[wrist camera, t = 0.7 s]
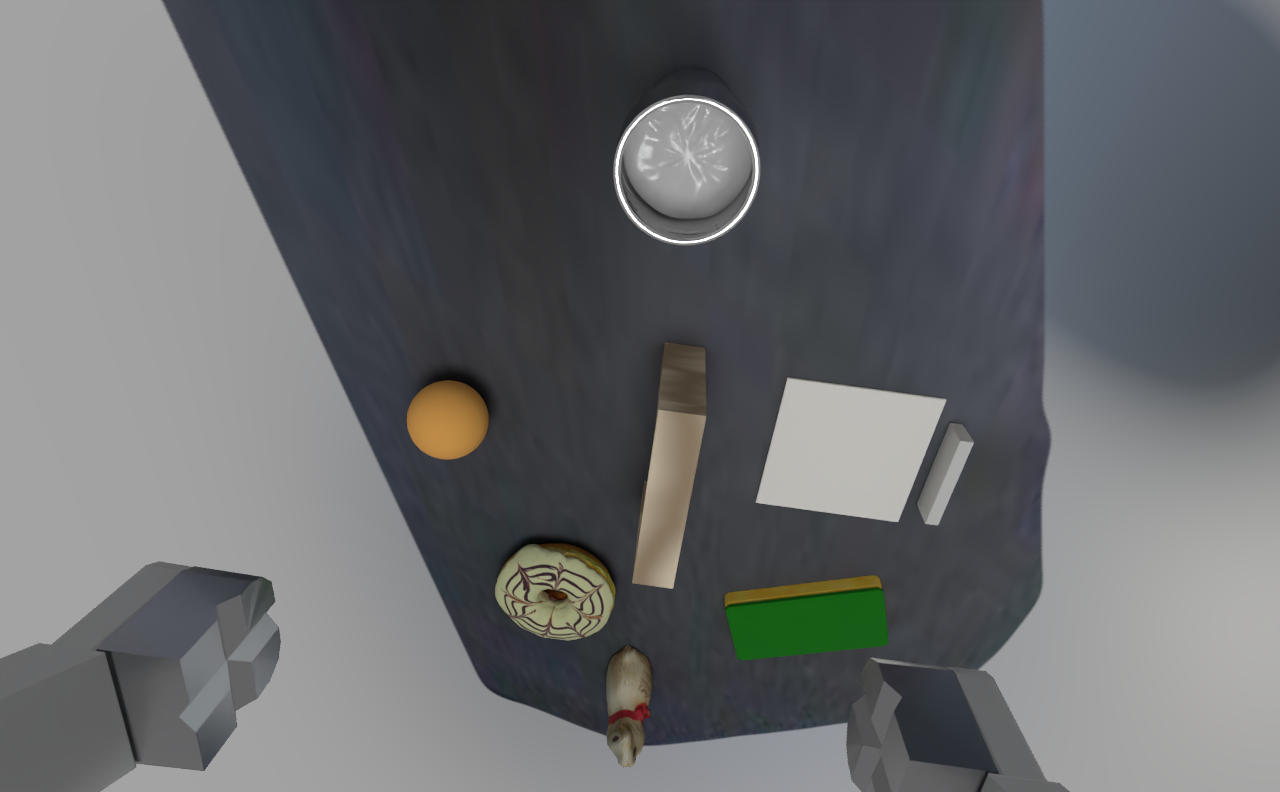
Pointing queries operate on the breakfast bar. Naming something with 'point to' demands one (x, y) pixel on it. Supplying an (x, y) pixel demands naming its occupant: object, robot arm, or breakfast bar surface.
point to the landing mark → (847, 448)
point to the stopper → (944, 473)
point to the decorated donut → (550, 612)
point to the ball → (447, 419)
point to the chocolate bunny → (628, 703)
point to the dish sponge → (807, 618)
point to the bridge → (671, 464)
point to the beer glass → (687, 159)
